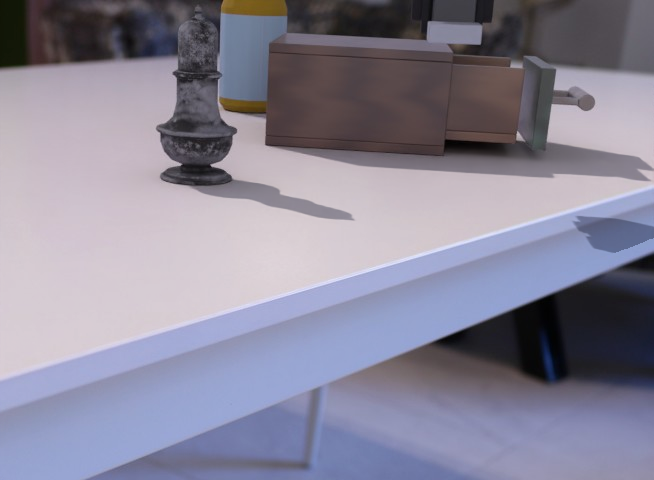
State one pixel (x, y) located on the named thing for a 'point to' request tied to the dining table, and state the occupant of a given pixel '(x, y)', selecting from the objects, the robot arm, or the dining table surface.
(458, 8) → the grey stepped block
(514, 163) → the dining table surface
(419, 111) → the cabinet
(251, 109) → the bottle
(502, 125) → the drawer
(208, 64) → the salt shaker
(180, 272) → the dining table surface
